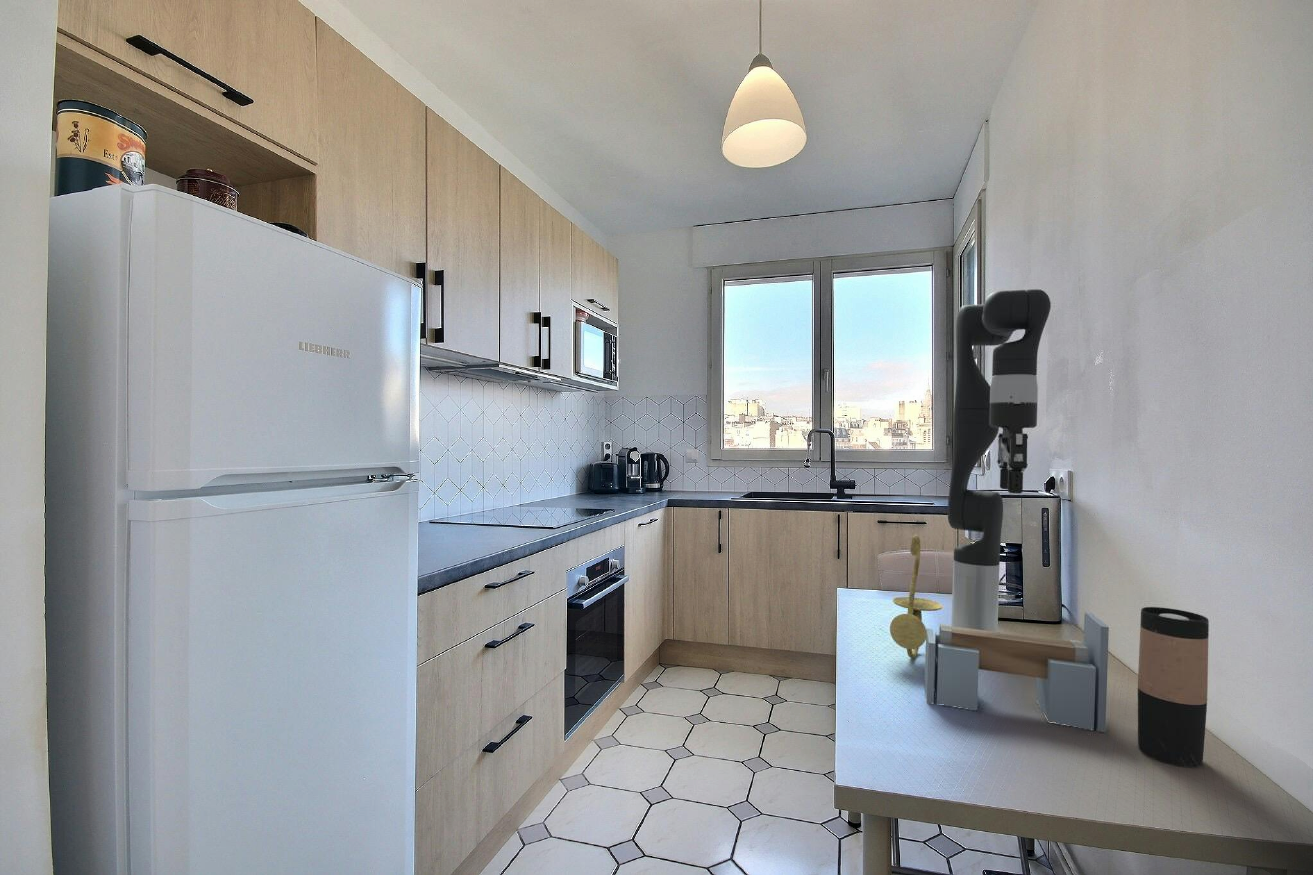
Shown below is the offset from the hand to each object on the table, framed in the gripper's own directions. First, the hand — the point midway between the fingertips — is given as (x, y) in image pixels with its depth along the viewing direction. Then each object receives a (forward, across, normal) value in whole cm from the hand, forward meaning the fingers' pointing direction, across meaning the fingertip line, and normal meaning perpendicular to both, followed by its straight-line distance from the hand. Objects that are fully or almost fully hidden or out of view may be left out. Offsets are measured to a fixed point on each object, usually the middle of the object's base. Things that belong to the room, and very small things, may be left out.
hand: (1010, 491), depth 114 cm
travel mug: (+35, +20, +18) cm, 44 cm away
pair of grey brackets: (+35, +11, -1) cm, 37 cm away
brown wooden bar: (+29, +11, -1) cm, 31 cm away
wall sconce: (+35, -8, -15) cm, 39 cm away
